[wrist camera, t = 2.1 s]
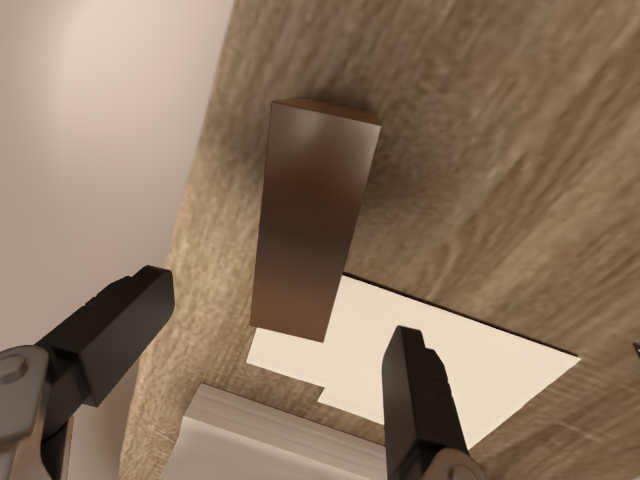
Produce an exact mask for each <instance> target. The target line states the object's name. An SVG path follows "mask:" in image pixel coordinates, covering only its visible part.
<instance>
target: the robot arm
mask: <svg viewBox="0 0 640 480" xmlns="http://www.w3.org/2000/svg"><path fill="white" fill-rule="evenodd" d="M174 306H175V300H174V288H173V276H172V272H171V271H170V270H167V269H163V268H158V267H154V266H150V265H147V266H145V267H143V268H142V269H141V270H140V271H138V272H137V273H136V274H135V275H134V276H132V277H130V276H126V277H124V278H122V279H120V280H117V281H115V282H113V283H111V284H109V285H108V286H107V287H105V288H104V289H103V290H102V291H101V292H99V293H98V294H97V296H96V297H93V298H92V299H90V300H89V301H88V302H87V303H86V304H85V306H82V307H81V308H79V309H78V310H77V311H76V312H74V313H73V314H72V315H71V316H69V317H68V318H67V319H66V320H64V321H63V322H62V323H61V324H60V325H58V326H57V327H56V328H54V329H53V330H52V331H51V332H49V333H48V334H47V335H46V336H44V337H43V338H42V339H41V340H39V341H38V342H37V343H35V344H34V345H23V346H17V347H13V348H9V349H6V350H3V351H1V352H0V480H67V474H68V466H69V457H70V448H71V440H72V431H73V430H72V429H73V422H74V416H73V414H74V412H75V411H76V410H77V409H78V408H79V407H80V406H81V404H86V405H90V406H94V407H98V406H99V405H100V404H101V403H102V401H103V400H104V399H105V398H106V396H107V395H108V394H109V393H110V392H111V390H112V389H113V388H114V387H115V385H116V384H117V383H118V382H119V380H120V379H121V378H122V377H123V376H124V374H125V373H126V372H127V371H128V369H129V368H130V367H131V366H132V365H133V363H134V362H135V361H136V360H137V358H138V357H139V356H140V355H141V353H142V352H143V351H144V350H145V349H146V347H147V346H148V345H149V344H150V342H151V341H152V340H153V339H154V338H155V336H156V335H157V334H158V333H159V331H160V330H161V329H162V328H163V326H164V325H165V324H166V323H167V322H168V320H169V319H170V317H171V315H172V313H173V310H174ZM381 374H382V392H383V411H384V429H385V448H386V466H387V480H489V479H488V477H487V476H486V474H485V473H484V471H483V470H482V468H481V467H480V466H479V465H478V464H477V463H476V462H475V461H474V460H473V459H472V458H471V457H470V455H469V452H468V449H467V446H466V442H465V439H464V435H463V431H462V428H461V424H460V421H459V417H458V413H457V410H456V406H455V402H454V399H453V397H452V391H451V388H450V384H449V383H448V377H447V373H446V370H445V366H444V364H443V362H442V361H441V359H440V358H439V356H438V355H437V353H436V352H435V350H433V349H429V348H425V343H424V339H423V334H422V332H421V330H418V329H414V328H409V327H405V326H401V325H398V326H397V327H396V328H395V331H394V333H393V335H392V338H391V340H390V342H389V344H388V347H387V349H386V351H385V354H384V357H383V361H382V369H381Z"/></svg>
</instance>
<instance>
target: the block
mask: <svg viewBox="0 0 640 480" xmlns="http://www.w3.org/2000/svg"><path fill="white" fill-rule="evenodd" d="M158 480H387V466H386V448H385V447H384V446H381V445H379V444H376V443H373V442H370V441H367V440H364V439H361V438H358V437H355V436H353V435H350V434H347V433H344V432H341V431H338V430H335V429H332V428H330V427H327V426H324V425H321V424H318V423H315V422H312V421H309V420H307V419H304V418H301V417H298V416H295V415H292V414H289V413H286V412H284V411H281V410H278V409H275V408H272V407H269V406H266V405H263V404H260V403H258V402H255V401H252V400H249V399H246V398H243V397H240V396H237V395H235V394H232V393H229V392H226V391H223V390H220V389H217V388H214V387H212V386H209V385H206V384H203V383H201V384H200V386H199V388H198V389H197V392H196V394H195V395H194V397H193V399H192V401H191V403H190V405H189V407H188V408H187V410H186V412H185V414H184V416H183V420H182V425H181V429H180V434H179V437H178V440H177V442H176V445H175V447H174V449H173V451H172V453H171V455H170V458H169V459H168V461H167V463H166V465H165V467H164V469H163V471H162V473H161V475H160V477H159V479H158Z"/></svg>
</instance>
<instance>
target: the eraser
mask: <svg viewBox="0 0 640 480" xmlns="http://www.w3.org/2000/svg"><path fill="white" fill-rule="evenodd" d="M382 127H383V126H382V124H381V122H380V120H379V118H378V116H377V115H376V113H374V112H369V111H364V110H360V109H355V108H351V107H346V106H341V105H337V104H332V103H327V102H323V101H318V100H314V99H309V98H304V97H298V98H297V97H296V98H290V99H283V100H277V101H272V103H271V113H270V123H269V133H268V143H267V153H266V163H265V173H264V184H263V194H262V204H261V214H260V224H259V234H258V244H257V254H256V264H255V275H254V285H253V295H252V305H251V315H250V326H253V327H257V328H262V329H266V330H270V331H274V332H279V333H283V334H287V335H291V336H295V337H300V338H304V339H308V340H312V341H316V342H321V343H323V342H324V339H325V335H326V332H327V328H328V324H329V321H330V317H331V313H332V310H333V306H334V302H335V299H336V295H337V291H338V288H339V284H340V280H341V277H342V273H343V270H344V266H345V262H346V259H347V255H348V251H349V248H350V244H351V240H352V237H353V233H354V229H355V226H356V222H357V218H358V215H359V211H360V207H361V204H362V200H363V196H364V193H365V189H366V185H367V182H368V178H369V174H370V171H371V167H372V163H373V160H374V156H375V152H376V149H377V145H378V141H379V138H380V134H381V130H382Z"/></svg>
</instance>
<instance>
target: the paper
mask: <svg viewBox="0 0 640 480" xmlns="http://www.w3.org/2000/svg"><path fill="white" fill-rule="evenodd" d="M398 325H401V326H405V327H409V328H414V329H418V330H421V332H422V334H423V339H424V343H425V348H429V349H433V350H435V352H436V353H437V355H438V356H439V358H440V359H441V361H442V362H443V364H444V366H445V370H446V373H447V377H448V383H449V384H450V388H451V391H452V397H453V399H454V402H455V406H456V410H457V413H458V417H459V421H460V424H461V428H462V431H463V435H464V439H465V442H466V446H467V449H468V450H469V449H470V448H472V447H473V446H474V445H475V444H477V443H478V442H479V441H480V440H482V439H483V438H484V437H485V436H487V435H488V434H489V433H490V432H492V431H493V430H494V429H495V428H497V427H498V426H499V425H500V424H502V423H503V422H504V421H505V420H507V419H508V418H509V417H510V416H511V415H513V414H514V413H515V412H516V411H518V410H519V409H520V408H521V407H523V405H524V404H525V403H527V402H528V401H529V400H530V399H532V398H533V397H534V396H535V395H537V394H538V393H539V392H540V391H542V390H543V389H544V388H546V387H547V386H548V385H549V384H551V383H552V382H553V381H555V380H556V379H557V378H558V377H560V376H561V375H562V374H563V373H565V372H566V371H567V370H569V369H570V368H571V367H572V366H574V365H575V364H576V363H577V362H579V361H580V360H581V359H580V358H577V357H574V356H572V355H569V354H566V353H563V352H561V351H558V350H555V349H552V348H549V347H547V346H544V345H541V344H538V343H535V342H532V341H529V340H527V339H524V338H521V337H518V336H515V335H512V334H509V333H507V332H504V331H501V330H498V329H495V328H492V327H490V326H487V325H484V324H481V323H479V322H476V321H473V320H470V319H467V318H465V317H462V316H459V315H456V314H453V313H450V312H448V311H445V310H442V309H439V308H436V307H433V306H430V305H427V304H424V303H421V302H418V301H416V300H413V299H410V298H407V297H404V296H401V295H398V294H395V293H393V292H390V291H387V290H384V289H381V288H379V287H376V286H373V285H370V284H367V283H364V282H361V281H358V280H355V279H352V278H349V277H346V276H343V275H342V277H341V280H340V284H339V288H338V291H337V295H336V299H335V302H334V306H333V310H332V313H331V317H330V321H329V324H328V328H327V332H326V335H325V339H324V342H323V343H321V342H316V341H312V340H308V339H304V338H300V337H295V336H291V335H287V334H283V333H279V332H274V331H270V330H266V329H262V328H257V330H256V333H255V336H254V339H253V342H252V346H251V349H250V352H249V355H248V358H247V361H246V362H247V363H250V364H253V365H256V366H259V367H262V368H265V369H268V370H271V371H274V372H277V373H280V374H283V375H286V376H289V377H292V378H295V379H299V380H302V381H305V382H309V383H312V384H315V385H319V386H322V387H325V389H324V390H323V392H322V394H321V395H320V397H319V399H318V401H317V402H320V403H324V404H327V405H330V406H333V407H335V408H338V409H341V410H344V411H347V412H350V413H353V414H355V415H358V416H361V417H364V418H366V419H369V420H371V421H374V422H376V423H379V424H382V425H384V411H383V392H382V374H381V369H382V361H383V357H384V354H385V351H386V349H387V347H388V344H389V342H390V340H391V338H392V335H393V333H394V331H395V328H396V327H397V326H398Z"/></svg>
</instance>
